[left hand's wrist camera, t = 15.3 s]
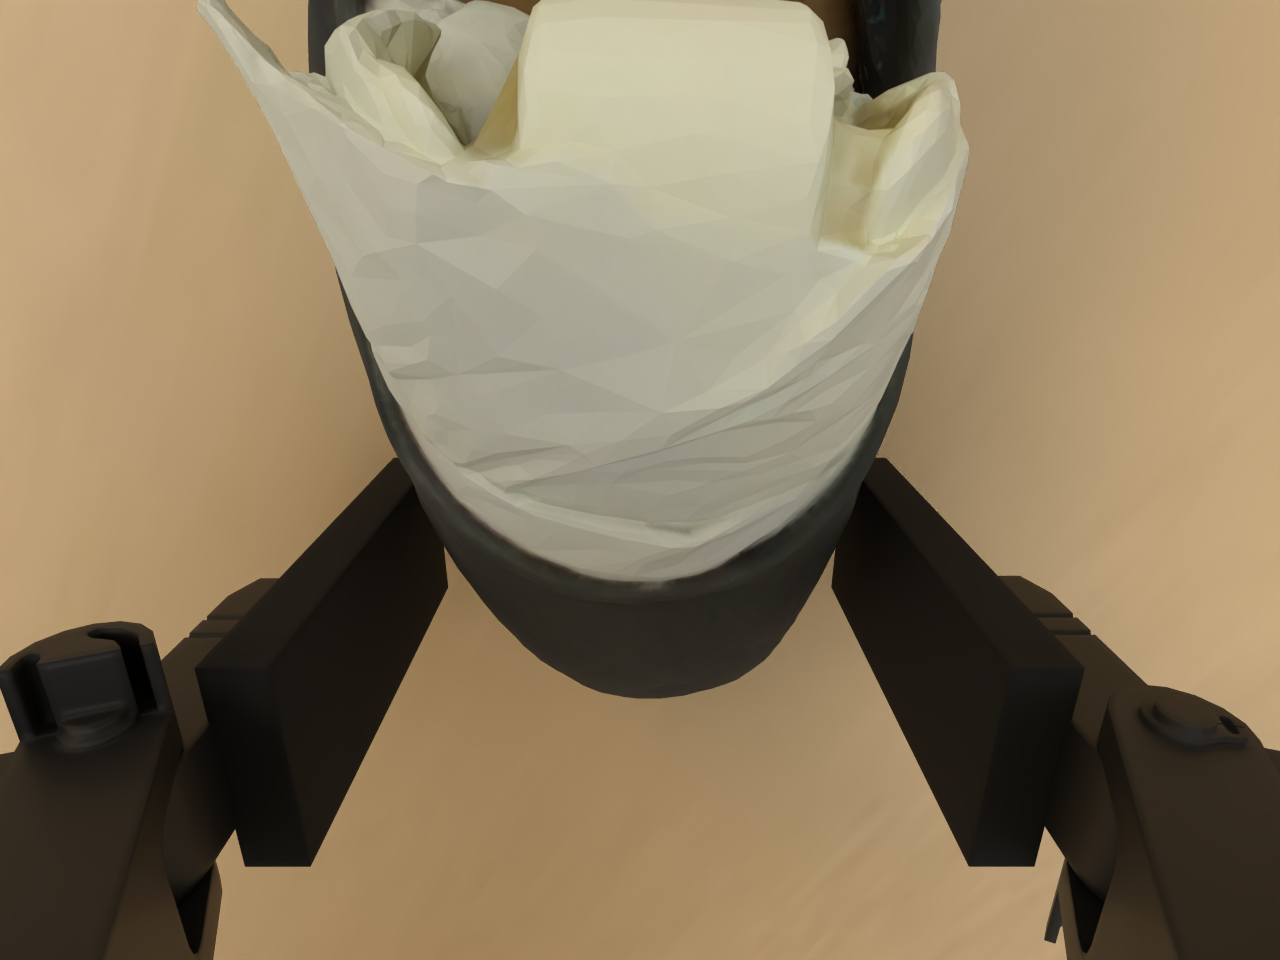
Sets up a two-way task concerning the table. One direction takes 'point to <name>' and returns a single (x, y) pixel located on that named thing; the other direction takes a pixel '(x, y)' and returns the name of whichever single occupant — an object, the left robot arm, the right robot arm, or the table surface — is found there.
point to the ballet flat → (627, 290)
